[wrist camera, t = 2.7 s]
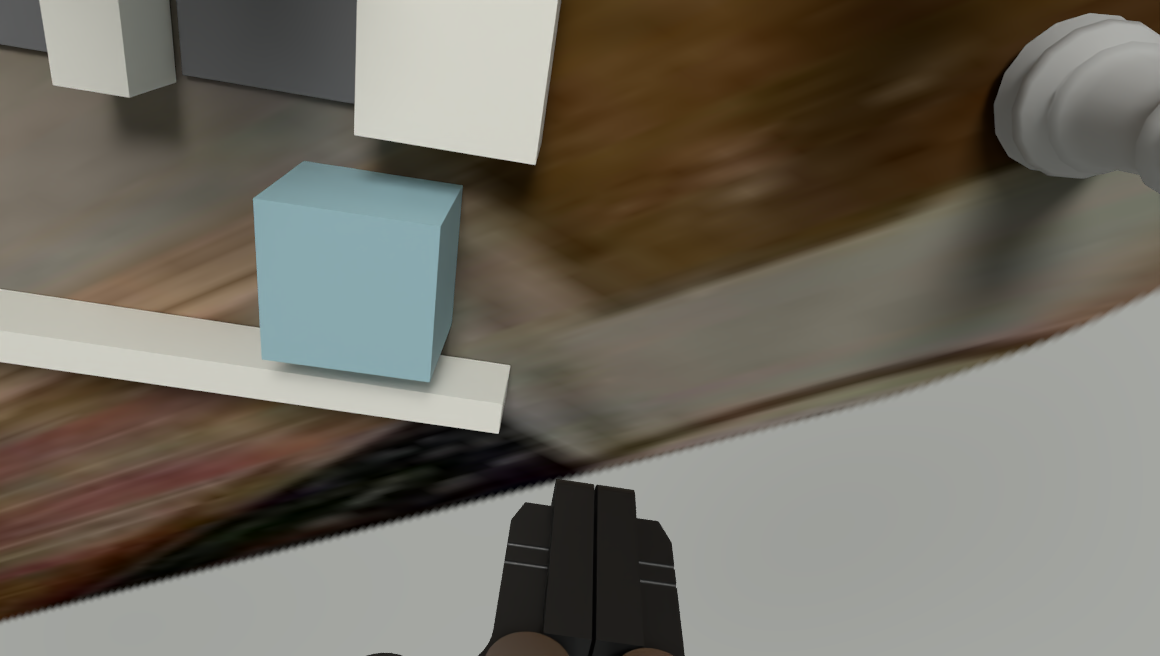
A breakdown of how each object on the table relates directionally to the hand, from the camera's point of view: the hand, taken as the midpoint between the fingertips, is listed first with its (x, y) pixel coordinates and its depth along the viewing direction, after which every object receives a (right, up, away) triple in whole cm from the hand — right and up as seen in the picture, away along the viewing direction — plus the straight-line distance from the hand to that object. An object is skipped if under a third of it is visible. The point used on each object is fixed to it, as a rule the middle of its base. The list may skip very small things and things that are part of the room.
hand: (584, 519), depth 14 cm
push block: (-7, +6, +10) cm, 14 cm away
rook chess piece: (+14, +11, +8) cm, 19 cm away
